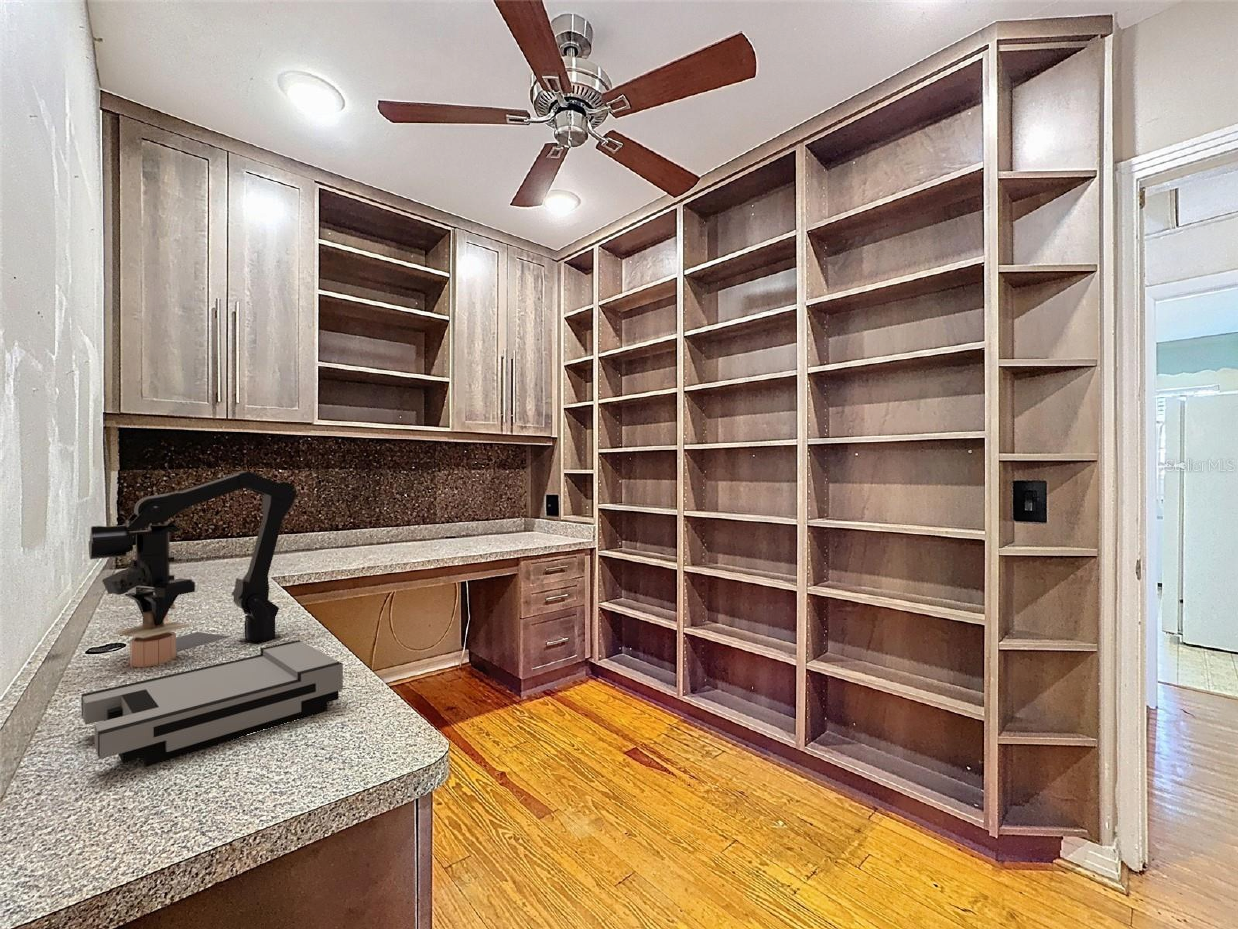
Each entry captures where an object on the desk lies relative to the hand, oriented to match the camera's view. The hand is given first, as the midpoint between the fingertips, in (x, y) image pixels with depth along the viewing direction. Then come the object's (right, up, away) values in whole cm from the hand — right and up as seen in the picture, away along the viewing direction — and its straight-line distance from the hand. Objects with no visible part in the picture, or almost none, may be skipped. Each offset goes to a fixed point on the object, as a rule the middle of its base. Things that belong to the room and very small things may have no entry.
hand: (153, 624), depth 125 cm
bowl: (0, -8, 0) cm, 8 cm away
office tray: (+35, -9, -29) cm, 46 cm away
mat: (-3, -8, +14) cm, 16 cm away
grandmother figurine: (-16, -9, +21) cm, 28 cm away
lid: (0, -1, 0) cm, 1 cm away
